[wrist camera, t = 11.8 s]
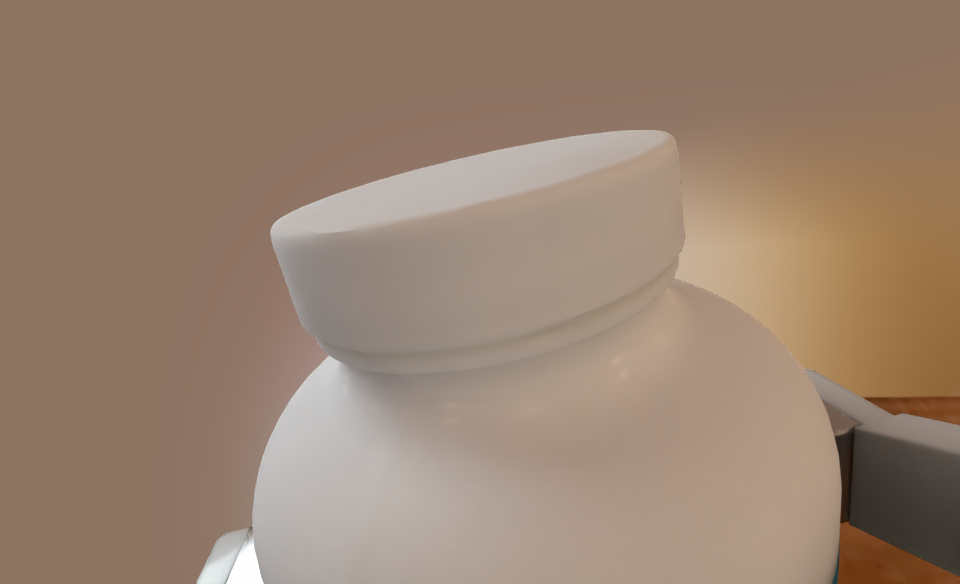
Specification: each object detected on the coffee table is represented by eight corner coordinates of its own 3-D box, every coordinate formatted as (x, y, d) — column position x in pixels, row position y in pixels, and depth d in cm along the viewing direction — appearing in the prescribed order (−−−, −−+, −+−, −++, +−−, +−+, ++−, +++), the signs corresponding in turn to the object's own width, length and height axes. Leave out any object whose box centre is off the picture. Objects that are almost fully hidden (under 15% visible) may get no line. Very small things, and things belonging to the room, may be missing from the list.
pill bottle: (379, 800, 11) (93, 252, 6) (577, 574, 15) (486, 143, 11) (696, 1435, 5) (146, 512, 1) (875, 791, 9) (949, 59, 5)
